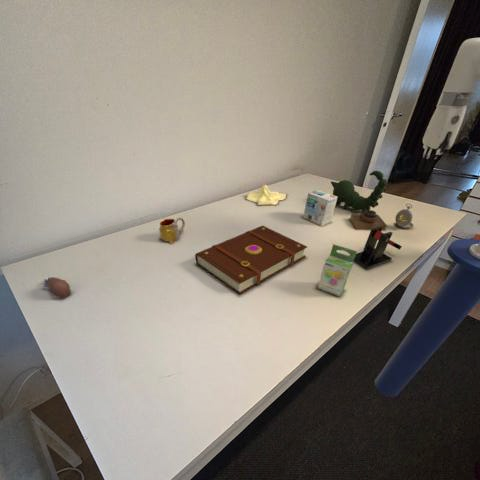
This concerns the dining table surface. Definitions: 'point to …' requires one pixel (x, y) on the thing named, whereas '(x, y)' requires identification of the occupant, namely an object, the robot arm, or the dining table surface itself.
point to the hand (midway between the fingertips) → (423, 171)
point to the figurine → (57, 287)
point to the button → (370, 213)
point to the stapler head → (389, 240)
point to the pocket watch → (404, 218)
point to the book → (250, 258)
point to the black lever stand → (374, 250)
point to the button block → (367, 221)
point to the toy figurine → (353, 199)
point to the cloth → (265, 196)
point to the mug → (170, 229)
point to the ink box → (336, 270)
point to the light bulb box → (320, 207)
